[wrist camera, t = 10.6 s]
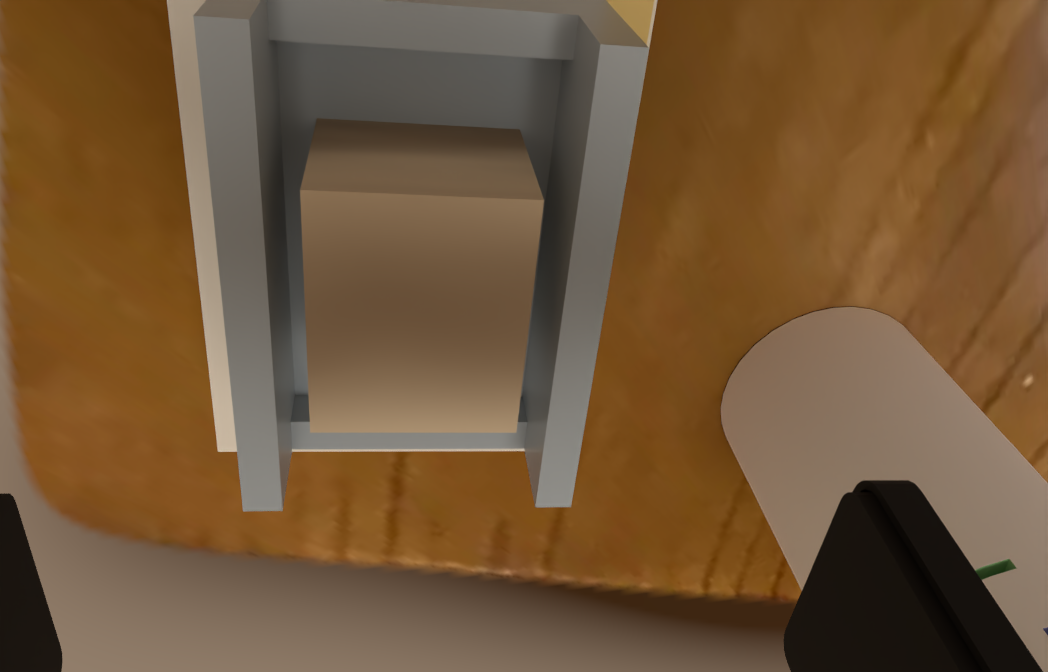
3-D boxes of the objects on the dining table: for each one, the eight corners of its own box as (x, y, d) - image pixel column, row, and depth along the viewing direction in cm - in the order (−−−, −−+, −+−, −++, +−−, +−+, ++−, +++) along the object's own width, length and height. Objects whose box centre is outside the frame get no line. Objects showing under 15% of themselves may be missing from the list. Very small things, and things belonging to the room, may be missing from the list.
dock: (189, -202, 19) (143, -195, 15) (635, -153, 20) (683, -138, 17) (240, 367, 27) (217, 454, 23) (558, 371, 28) (580, 453, 25)
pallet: (243, -44, 17) (193, 15, 13) (591, -16, 18) (649, 47, 14) (272, 374, 22) (243, 510, 18) (540, 376, 23) (570, 507, 19)
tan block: (316, 118, 17) (300, 189, 14) (520, 129, 18) (544, 200, 15) (323, 334, 20) (309, 432, 17) (499, 337, 20) (516, 433, 17)
